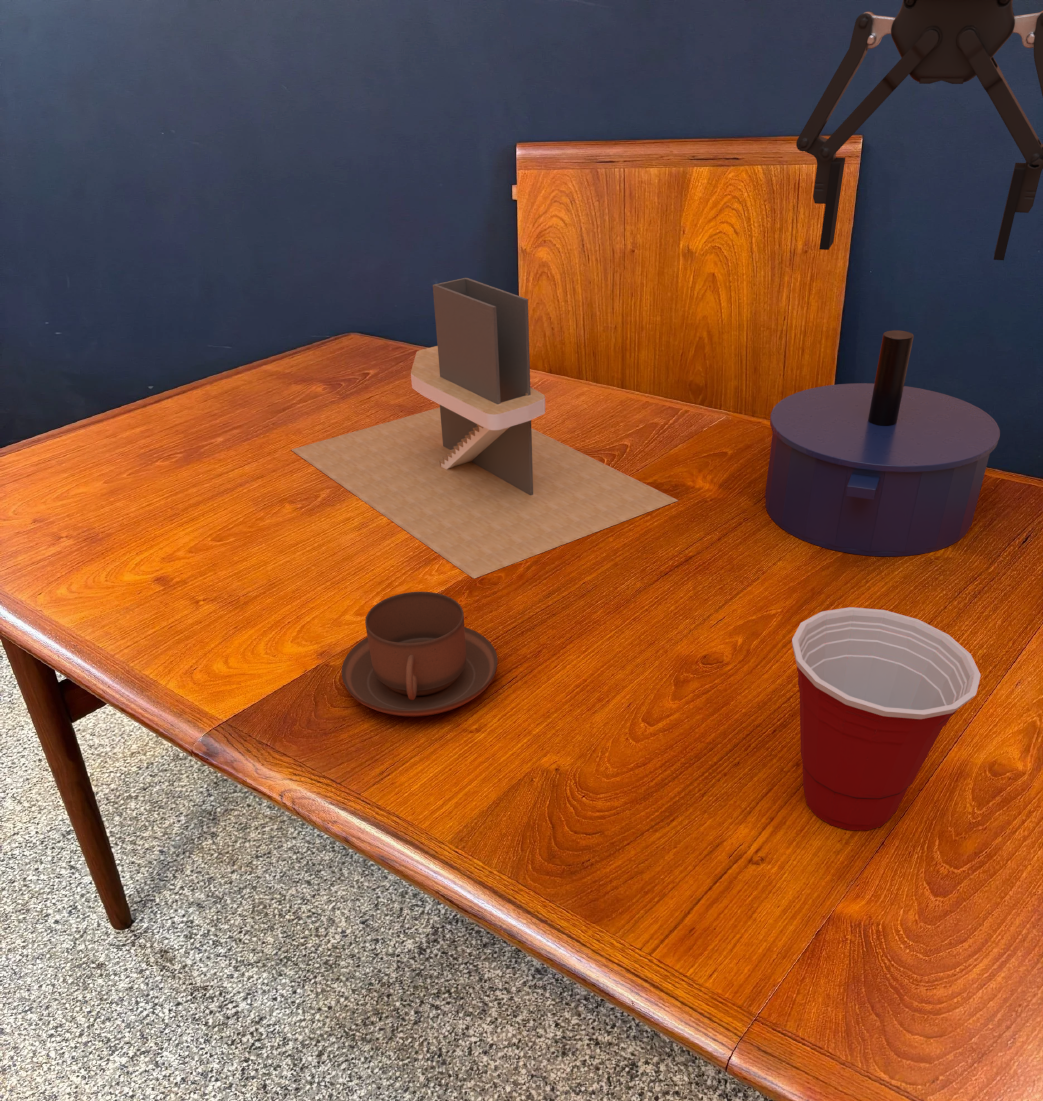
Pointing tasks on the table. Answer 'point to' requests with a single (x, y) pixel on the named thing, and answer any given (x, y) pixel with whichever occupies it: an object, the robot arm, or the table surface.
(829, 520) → the pot
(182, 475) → the table surface
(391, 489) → the architectural model
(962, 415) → the pot lid
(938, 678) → the plastic cup
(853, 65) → the robot arm
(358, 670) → the cup and saucer
